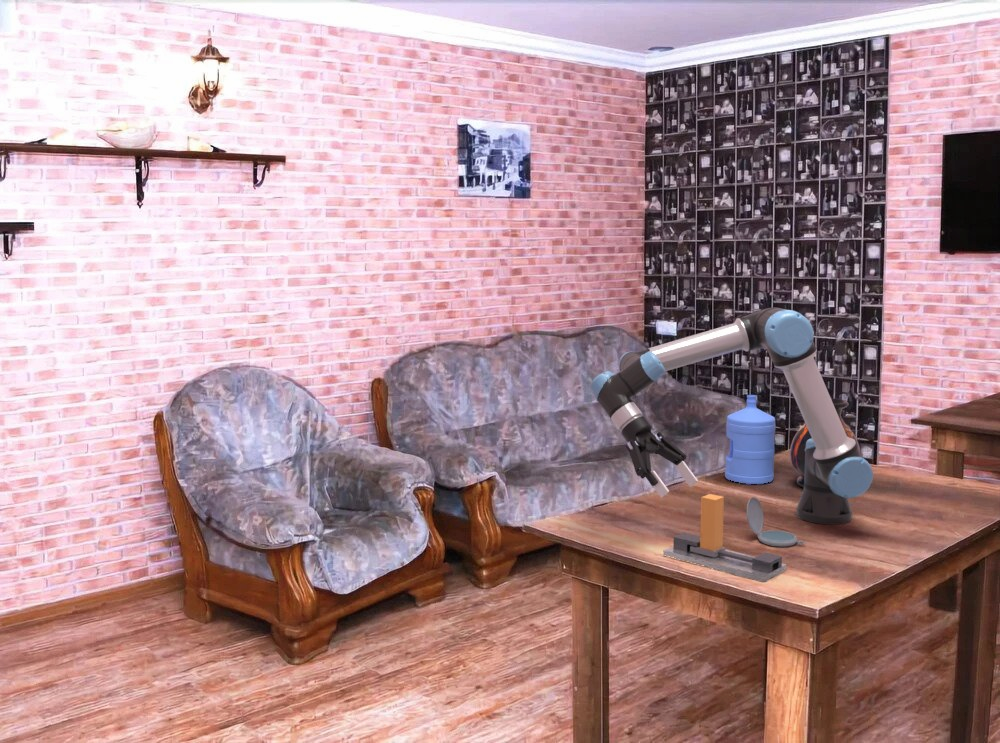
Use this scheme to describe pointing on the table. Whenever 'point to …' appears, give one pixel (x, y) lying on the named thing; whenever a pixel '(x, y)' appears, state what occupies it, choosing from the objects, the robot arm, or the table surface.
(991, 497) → the table surface
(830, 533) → the table surface
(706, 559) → the base
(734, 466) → the water jug
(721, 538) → the handle
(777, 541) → the pocket watch
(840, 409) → the amphora vase
